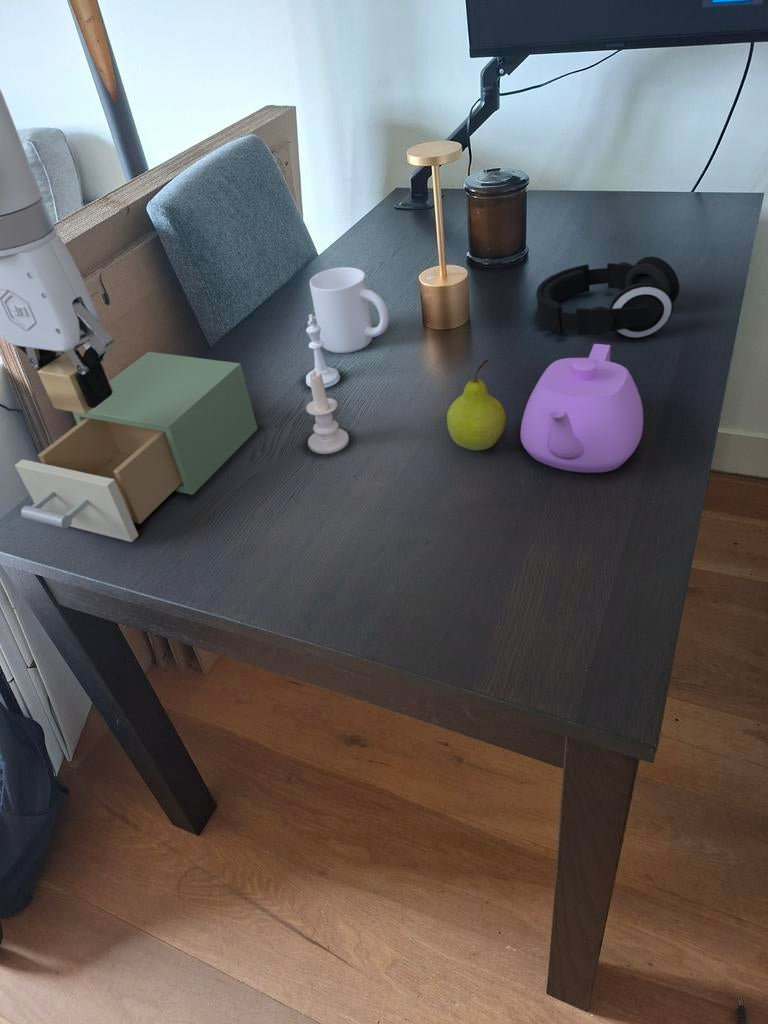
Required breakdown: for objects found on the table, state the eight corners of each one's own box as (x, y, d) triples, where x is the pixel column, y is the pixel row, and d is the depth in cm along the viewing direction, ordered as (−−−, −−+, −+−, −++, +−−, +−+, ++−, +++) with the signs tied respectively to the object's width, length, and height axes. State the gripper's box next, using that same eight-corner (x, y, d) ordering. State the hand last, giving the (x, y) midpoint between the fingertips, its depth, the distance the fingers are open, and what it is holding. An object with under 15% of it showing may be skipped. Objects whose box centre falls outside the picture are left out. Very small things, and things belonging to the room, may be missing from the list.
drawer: (106, 568, 81) (78, 511, 76) (15, 542, 86) (-16, 487, 81) (202, 471, 93) (184, 416, 88) (118, 454, 98) (96, 402, 93)
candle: (317, 459, 94) (301, 385, 87) (302, 439, 98) (286, 367, 91) (355, 445, 95) (343, 371, 89) (339, 426, 99) (326, 354, 93)
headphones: (666, 293, 99) (519, 299, 108) (666, 348, 104) (525, 349, 113) (687, 244, 111) (552, 253, 120) (686, 295, 116) (556, 300, 125)
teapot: (494, 488, 85) (492, 403, 78) (549, 398, 98) (550, 318, 91) (615, 512, 80) (624, 423, 73) (655, 413, 93) (666, 330, 86)
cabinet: (192, 495, 91) (168, 426, 85) (99, 475, 97) (70, 409, 91) (257, 428, 101) (240, 363, 95) (170, 414, 107) (148, 351, 101)
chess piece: (300, 386, 108) (286, 322, 102) (315, 370, 112) (302, 306, 106) (331, 390, 107) (319, 324, 100) (345, 372, 110) (334, 308, 104)
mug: (404, 336, 117) (397, 271, 110) (378, 361, 112) (369, 295, 105) (338, 327, 122) (328, 264, 116) (310, 350, 117) (298, 286, 110)
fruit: (437, 450, 92) (429, 362, 85) (471, 424, 96) (466, 337, 88) (483, 468, 88) (479, 377, 81) (517, 440, 92) (516, 351, 84)
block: (85, 414, 79) (68, 376, 76) (54, 408, 81) (36, 371, 78) (113, 392, 82) (99, 355, 79) (83, 387, 84) (67, 350, 81)
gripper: (-86, 237, 70) (0, 406, 82) (46, 246, 64) (119, 428, 75) (-23, 209, 75) (50, 372, 87) (105, 214, 69) (166, 389, 80)
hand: (81, 396), depth 81 cm, fingers closed on block, 4 cm apart
